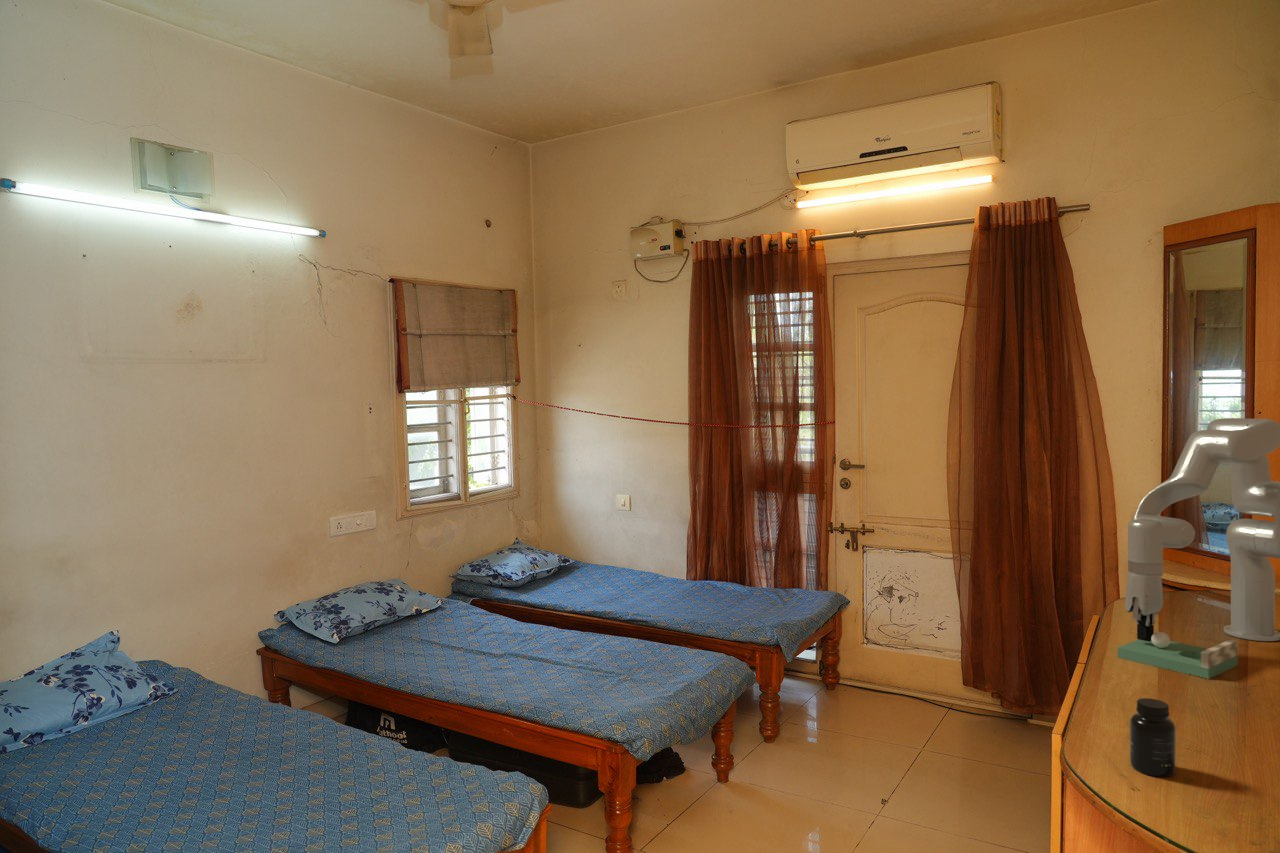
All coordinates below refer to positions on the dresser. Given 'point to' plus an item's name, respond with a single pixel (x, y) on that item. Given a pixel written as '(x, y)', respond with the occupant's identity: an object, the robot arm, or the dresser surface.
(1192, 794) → the dresser surface
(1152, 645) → the putting green
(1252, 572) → the robot arm
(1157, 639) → the ball
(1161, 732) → the supplement bottle
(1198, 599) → the dresser surface
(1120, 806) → the dresser surface
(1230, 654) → the backboard
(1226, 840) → the dresser surface
